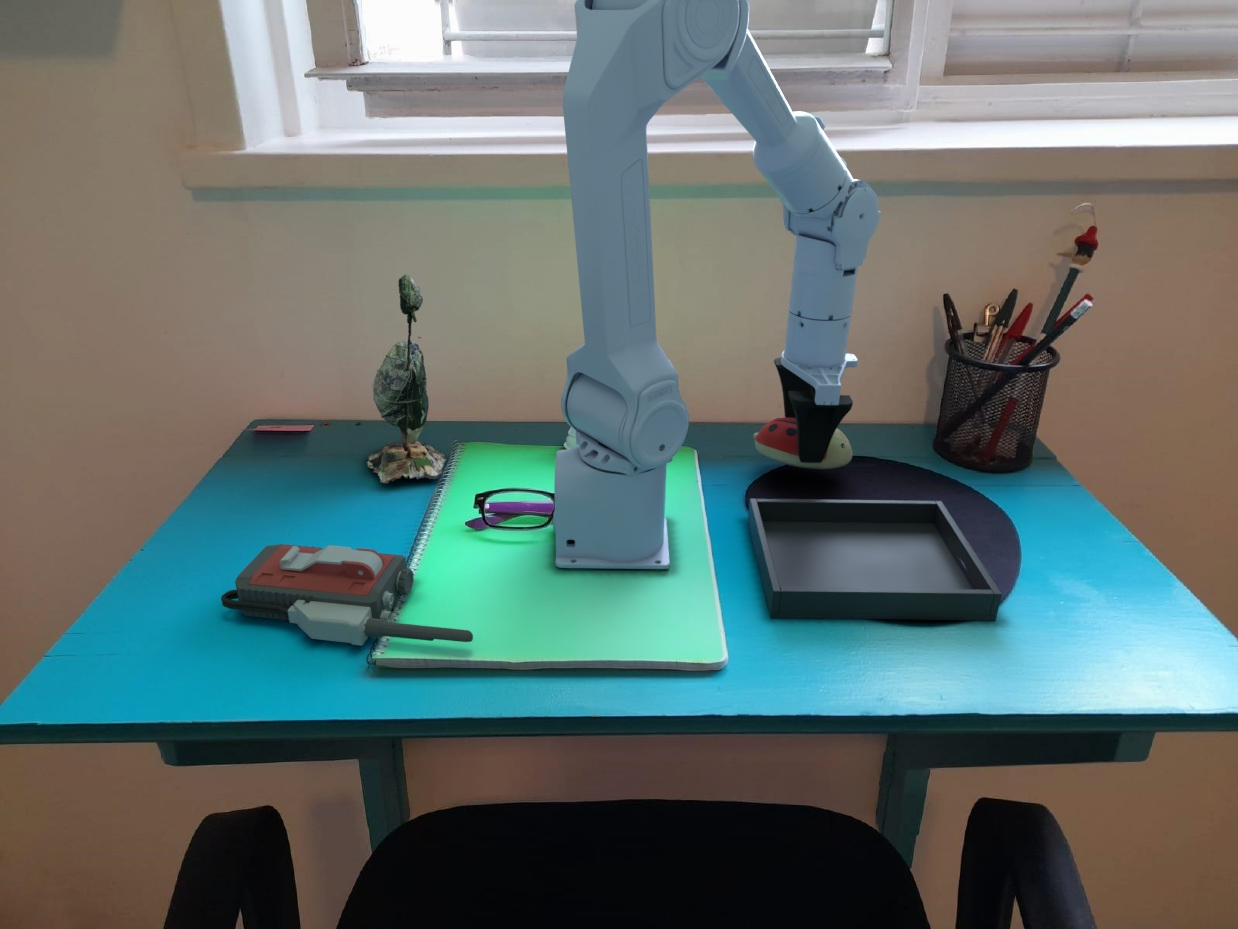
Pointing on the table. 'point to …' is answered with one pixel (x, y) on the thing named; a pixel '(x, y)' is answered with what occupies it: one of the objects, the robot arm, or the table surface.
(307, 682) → the table surface
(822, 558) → the tray
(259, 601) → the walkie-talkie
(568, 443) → the chess pawn
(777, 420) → the ladybug figurine
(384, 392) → the plant with pod
